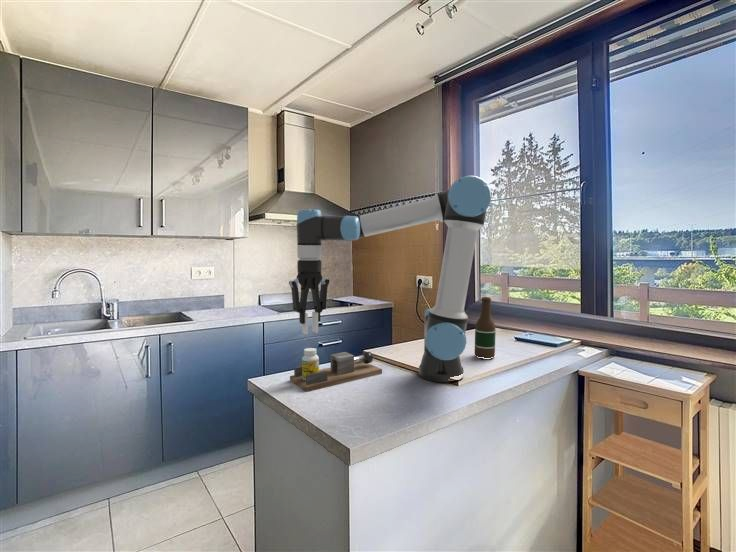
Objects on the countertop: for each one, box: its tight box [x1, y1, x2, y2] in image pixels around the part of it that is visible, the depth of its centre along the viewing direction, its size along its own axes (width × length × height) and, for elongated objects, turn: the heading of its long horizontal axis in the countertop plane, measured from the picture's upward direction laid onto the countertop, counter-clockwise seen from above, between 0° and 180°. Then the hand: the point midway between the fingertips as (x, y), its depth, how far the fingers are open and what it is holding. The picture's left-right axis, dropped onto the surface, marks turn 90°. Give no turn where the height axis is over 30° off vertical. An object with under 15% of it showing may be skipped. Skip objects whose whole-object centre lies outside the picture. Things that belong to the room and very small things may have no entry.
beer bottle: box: [474, 296, 497, 358], centre depth 154 cm, size 8×8×24 cm
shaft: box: [336, 351, 374, 366], centre depth 135 cm, size 4×13×4 cm, turn 126°
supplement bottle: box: [301, 347, 320, 381], centre depth 125 cm, size 5×5×10 cm
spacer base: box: [289, 351, 383, 393], centre depth 131 cm, size 12×29×7 cm, turn 126°
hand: (310, 332), depth 124 cm, fingers open, 3 cm apart
